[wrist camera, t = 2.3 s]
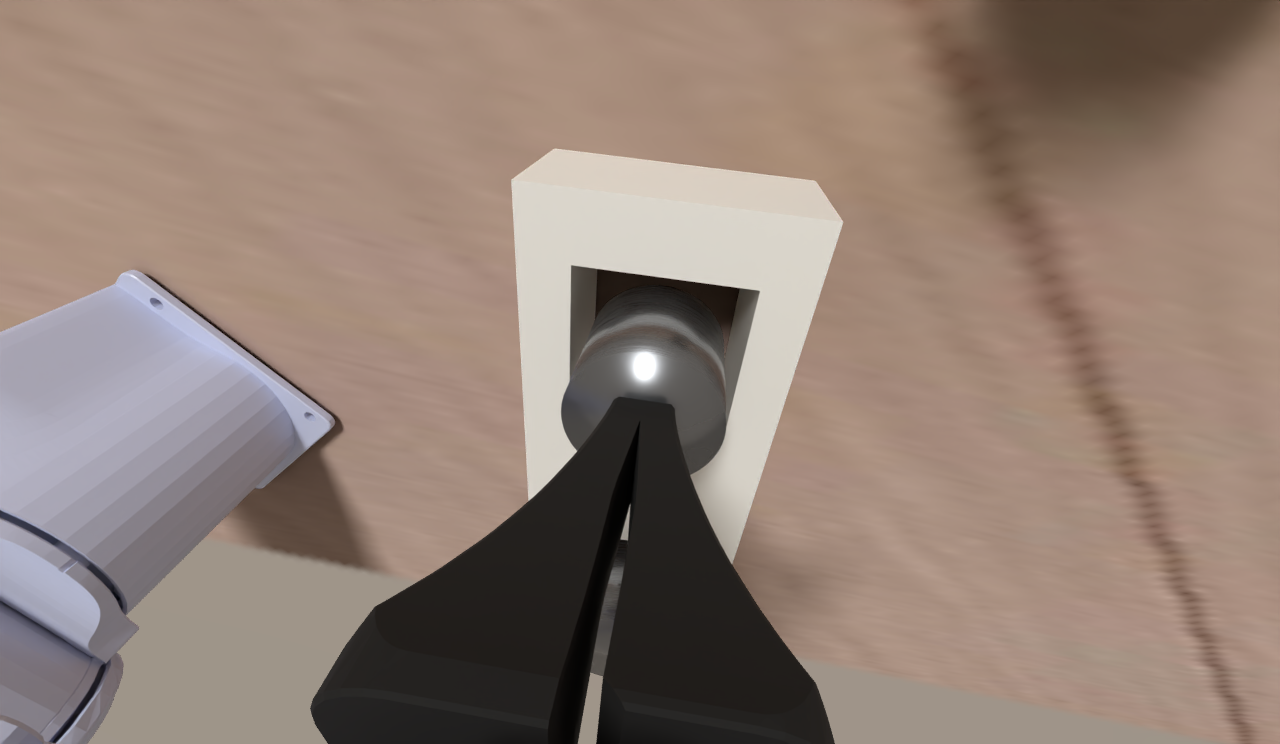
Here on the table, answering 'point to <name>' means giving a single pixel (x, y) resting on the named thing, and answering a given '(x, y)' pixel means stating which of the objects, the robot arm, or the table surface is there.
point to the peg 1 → (609, 611)
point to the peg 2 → (653, 368)
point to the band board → (676, 249)
